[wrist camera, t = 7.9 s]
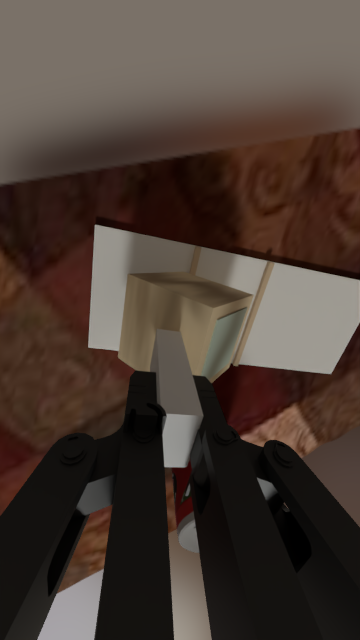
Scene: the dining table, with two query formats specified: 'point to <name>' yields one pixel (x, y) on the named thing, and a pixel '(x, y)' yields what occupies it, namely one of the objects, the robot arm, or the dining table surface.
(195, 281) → the tan cube
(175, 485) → the canned food
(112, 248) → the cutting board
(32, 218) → the dining table surface
